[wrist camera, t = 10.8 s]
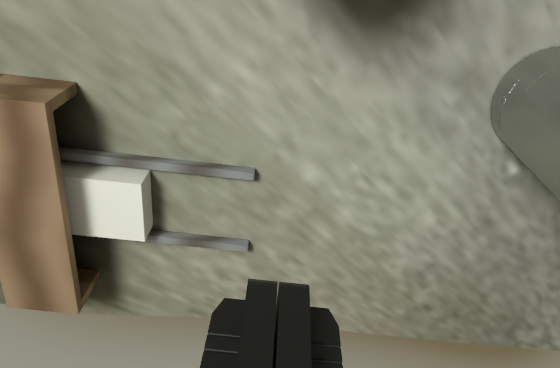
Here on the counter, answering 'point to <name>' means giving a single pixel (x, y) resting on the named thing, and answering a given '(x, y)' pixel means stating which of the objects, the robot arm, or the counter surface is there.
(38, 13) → the counter surface
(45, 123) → the overhang
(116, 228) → the cream rectangular block
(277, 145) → the counter surface
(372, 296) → the counter surface
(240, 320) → the robot arm
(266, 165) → the counter surface
